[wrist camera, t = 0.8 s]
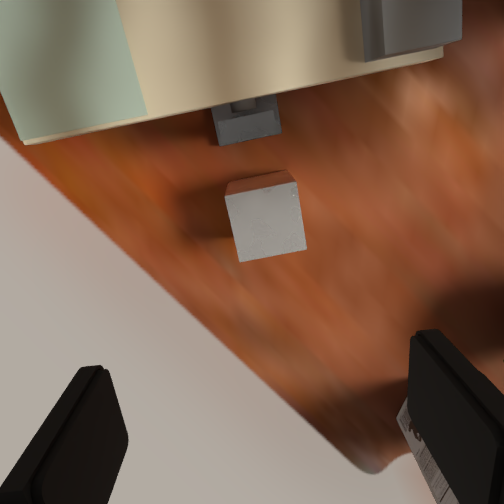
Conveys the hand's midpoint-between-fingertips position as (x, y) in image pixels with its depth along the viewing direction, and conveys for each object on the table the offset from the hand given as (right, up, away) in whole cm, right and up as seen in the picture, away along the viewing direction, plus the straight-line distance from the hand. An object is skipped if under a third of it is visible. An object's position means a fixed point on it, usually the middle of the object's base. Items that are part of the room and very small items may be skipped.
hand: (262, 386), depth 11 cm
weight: (+1, +8, +20) cm, 21 cm away
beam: (-1, +15, +7) cm, 17 cm away
